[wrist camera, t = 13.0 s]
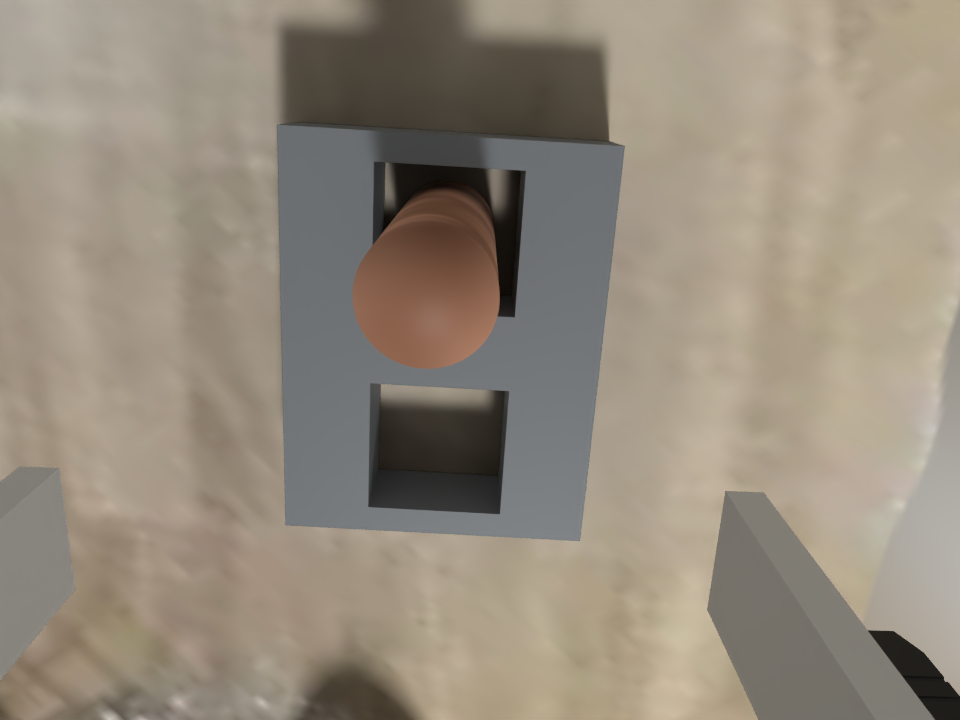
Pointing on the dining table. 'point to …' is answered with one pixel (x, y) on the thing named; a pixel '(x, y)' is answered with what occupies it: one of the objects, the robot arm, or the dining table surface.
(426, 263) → the peg
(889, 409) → the dining table surface
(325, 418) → the socket block
